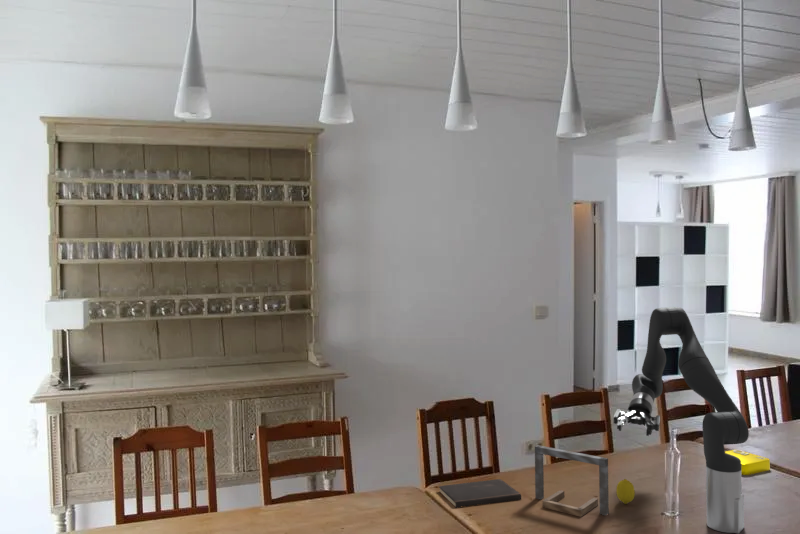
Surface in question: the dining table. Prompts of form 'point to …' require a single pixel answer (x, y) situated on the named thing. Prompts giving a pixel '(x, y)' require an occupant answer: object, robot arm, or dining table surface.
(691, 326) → the robot arm
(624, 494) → the lemon
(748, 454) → the yellow flat square block
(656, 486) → the dining table surface
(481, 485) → the hardcover book
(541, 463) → the keeper pocket
